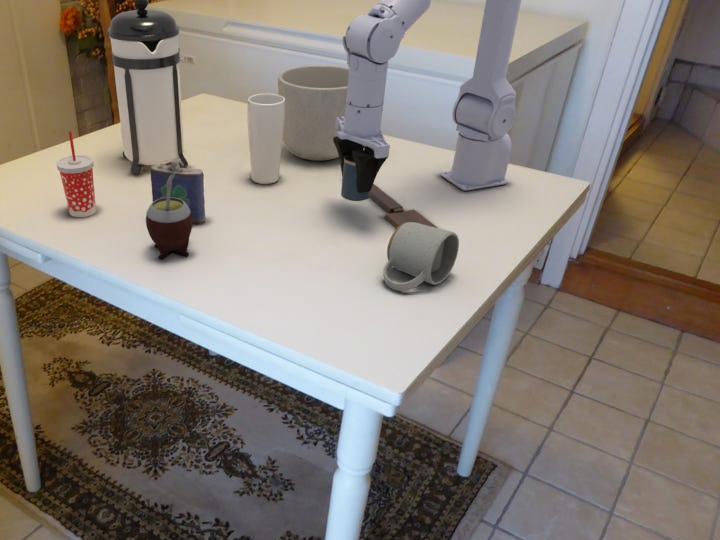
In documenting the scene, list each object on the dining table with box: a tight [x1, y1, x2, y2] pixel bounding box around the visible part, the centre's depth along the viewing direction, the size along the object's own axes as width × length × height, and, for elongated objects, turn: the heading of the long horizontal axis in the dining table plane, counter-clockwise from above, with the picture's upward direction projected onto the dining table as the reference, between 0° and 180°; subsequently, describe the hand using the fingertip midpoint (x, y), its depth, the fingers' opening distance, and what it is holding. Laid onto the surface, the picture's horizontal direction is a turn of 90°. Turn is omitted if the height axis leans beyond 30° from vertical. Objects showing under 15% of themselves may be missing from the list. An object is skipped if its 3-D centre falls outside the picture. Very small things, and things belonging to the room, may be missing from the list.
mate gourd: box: [145, 173, 194, 261], centre depth 102 cm, size 8×8×15 cm
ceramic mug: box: [382, 222, 460, 292], centre depth 98 cm, size 11×8×8 cm
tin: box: [340, 153, 370, 202], centre depth 113 cm, size 5×5×6 cm
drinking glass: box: [246, 93, 285, 185], centre depth 125 cm, size 7×7×15 cm
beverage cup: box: [55, 130, 97, 218], centre depth 115 cm, size 6×6×14 cm
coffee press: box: [107, 0, 189, 176], centre depth 129 cm, size 17×16×30 cm
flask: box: [149, 158, 206, 225], centre depth 113 cm, size 9×3×11 cm, turn 74°
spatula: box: [369, 183, 438, 229], centre depth 120 cm, size 6×26×1 cm, turn 19°
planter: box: [277, 64, 349, 162], centre depth 136 cm, size 17×17×15 cm
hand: (356, 185), depth 114 cm, fingers closed on tin, 5 cm apart
